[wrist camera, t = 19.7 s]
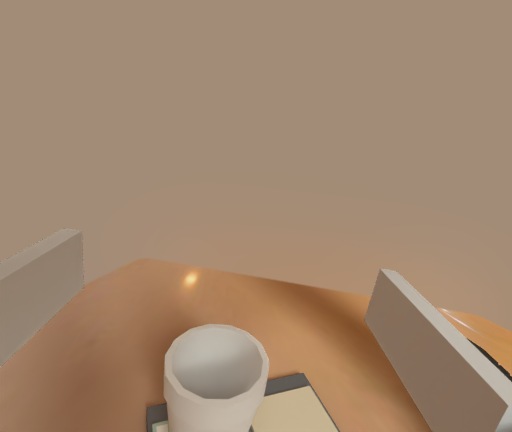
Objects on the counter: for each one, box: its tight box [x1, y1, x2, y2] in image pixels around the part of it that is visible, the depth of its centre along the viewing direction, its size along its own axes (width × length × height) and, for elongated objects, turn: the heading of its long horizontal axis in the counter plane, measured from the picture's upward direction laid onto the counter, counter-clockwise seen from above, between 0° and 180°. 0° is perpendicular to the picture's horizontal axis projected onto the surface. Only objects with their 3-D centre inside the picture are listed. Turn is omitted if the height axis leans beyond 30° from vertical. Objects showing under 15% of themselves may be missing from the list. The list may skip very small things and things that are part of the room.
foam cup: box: [163, 324, 269, 432], centre depth 28 cm, size 10×9×13 cm
